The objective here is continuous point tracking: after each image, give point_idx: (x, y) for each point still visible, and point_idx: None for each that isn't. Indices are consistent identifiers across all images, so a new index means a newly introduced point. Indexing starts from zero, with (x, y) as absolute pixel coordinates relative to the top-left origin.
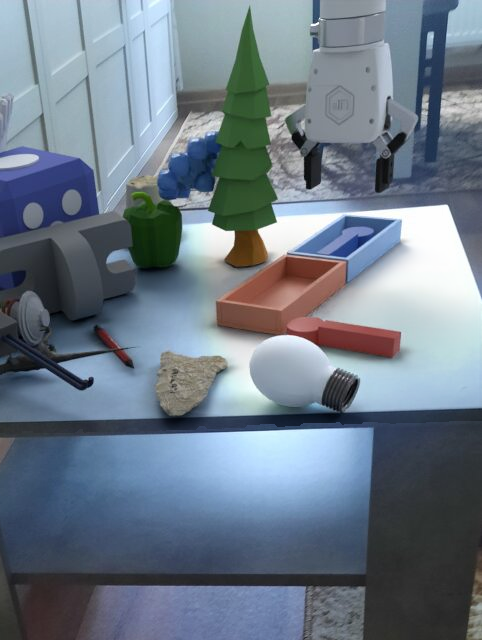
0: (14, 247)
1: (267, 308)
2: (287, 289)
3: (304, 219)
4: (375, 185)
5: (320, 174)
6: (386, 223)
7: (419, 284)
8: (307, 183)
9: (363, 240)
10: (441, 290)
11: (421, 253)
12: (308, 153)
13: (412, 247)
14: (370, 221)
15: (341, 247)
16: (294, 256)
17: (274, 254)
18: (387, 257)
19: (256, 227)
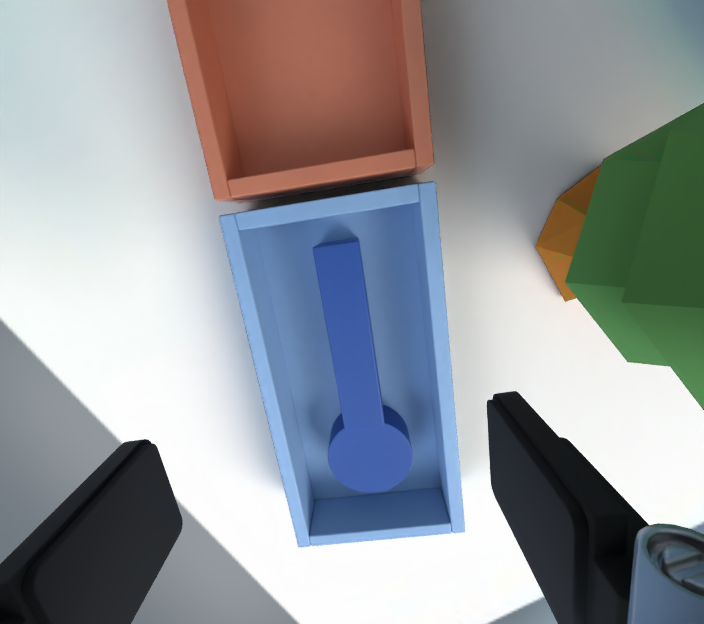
0: None
1: None
2: (335, 56)
3: None
4: (134, 459)
5: (508, 518)
6: (332, 525)
7: (97, 293)
8: (515, 402)
9: (336, 429)
10: (34, 282)
11: (221, 459)
12: (633, 558)
13: (261, 482)
14: (377, 523)
15: (326, 326)
16: (389, 160)
17: (546, 313)
18: None
19: (609, 168)
